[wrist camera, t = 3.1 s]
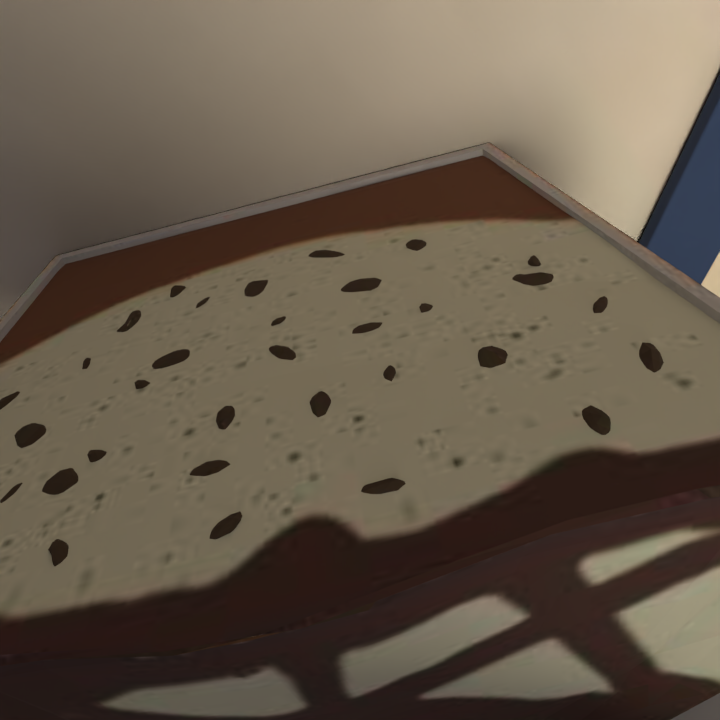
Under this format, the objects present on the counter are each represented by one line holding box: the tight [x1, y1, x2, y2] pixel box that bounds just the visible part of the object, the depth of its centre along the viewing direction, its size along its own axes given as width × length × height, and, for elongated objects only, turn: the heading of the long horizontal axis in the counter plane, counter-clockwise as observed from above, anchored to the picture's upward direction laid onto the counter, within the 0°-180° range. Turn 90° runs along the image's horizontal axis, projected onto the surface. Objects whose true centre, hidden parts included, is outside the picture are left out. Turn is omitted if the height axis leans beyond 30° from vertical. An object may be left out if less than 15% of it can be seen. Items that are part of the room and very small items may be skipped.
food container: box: [0, 143, 720, 720], centre depth 10 cm, size 12×6×10 cm, turn 103°
